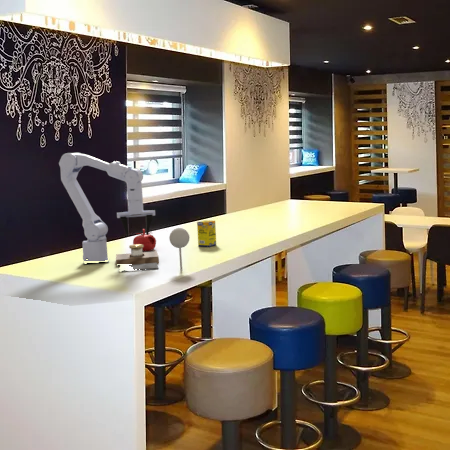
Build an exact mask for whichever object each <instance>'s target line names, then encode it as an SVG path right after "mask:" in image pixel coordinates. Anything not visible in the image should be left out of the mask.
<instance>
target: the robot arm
mask: <svg viewBox="0 0 450 450" xmlns="http://www.w3.org/2000/svg"><path fill="white" fill-rule="evenodd" d="M58 165H59V168H60V181H61V183H62V184H63V187H64V188H65V190H66V192H67V193H68V195H69V197H70V199H71V201H72V202H73V204H74V206H75V208H76V211H77V212H78V214H79V215H80V218H81V219H82V227H83V230H84V231H83V233H84V236H85V238H87V240H83V241H82V259H83V262H84V261H105V260H108V258H109V257H108V246H107V245H108V243H107V237H106V235H107V234H108V231H109V228H108V225H107V224H106V223H105V222H104V221H103V220H102V219H101V217H100V216H99V215H97V214H96V213H95V211H94V208H93V207H92V205H91V203H90V201H89V199H88V198H87V196H86V194H85V193H84V191H83V189H82V186H81V185H80V183H79V182H78V180H77V177H78V175H79V172H80V171H81V170H82V168H83V167H85V166H88V167H92V168H95V169H98V170H101V171H104V172H106V173H107V175H108V176H109V177H112V178H113V179H114V178H115V179H117V180H120V181H123V182H125V183H126V195H127V196H126V197H127V209H128V210H127V211H123V212H122V211H121V212H116V218H117V219H120V221H121V223H122V225H123V228H124V230H125V236H126V237H129V236H130V235H129V229H128V218H137V217H145V234H146V235H149V233H150V226H151V224H152V221H153V218H154V216H156V210H155V209H154V210H153V209H152V210H148V209H147V210H144V202H143V200H144V199H143V188H142V187H143V185H142V181H143V179H144V174H143V172H142V171H141V169H139V168H137V167H136V168H132V166H131V165H125V164H121V162H120V161H117V160H116V161H113V162H110V163H109V162H107V161H103V160H101V159H99V158H96V157H94V156H91V155H89V154H85V153H81V152H67V153H63V154H62V155H61V157H60V159H59V162H58ZM86 259H88V260H86Z"/></svg>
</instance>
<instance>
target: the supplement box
mask: <svg viewBox="0 0 450 450" xmlns="http://www.w3.org/2000/svg"><path fill="white" fill-rule="evenodd" d="M196 224H197V226H196V227H197V228H196V229H197V243H198V244H197V245H198V248H199V247H200V248H210V247H215V246H216V245H217V233H216V232H217V231H216V230H217V229H216V220H200V221H197V222H196Z"/></svg>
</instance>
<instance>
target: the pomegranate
mask: <svg viewBox="0 0 450 450" xmlns="http://www.w3.org/2000/svg"><path fill="white" fill-rule="evenodd" d="M135 235H136V236H134V238H133V239H132V245H134V244H143V248H142V252H152V251H154V249H155V248H156V246H157V245H156V244H157V240H156V237H155V236H154V235H152V232H150V231H149V235H146V228H142V233H140V232H137V233H135Z"/></svg>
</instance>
